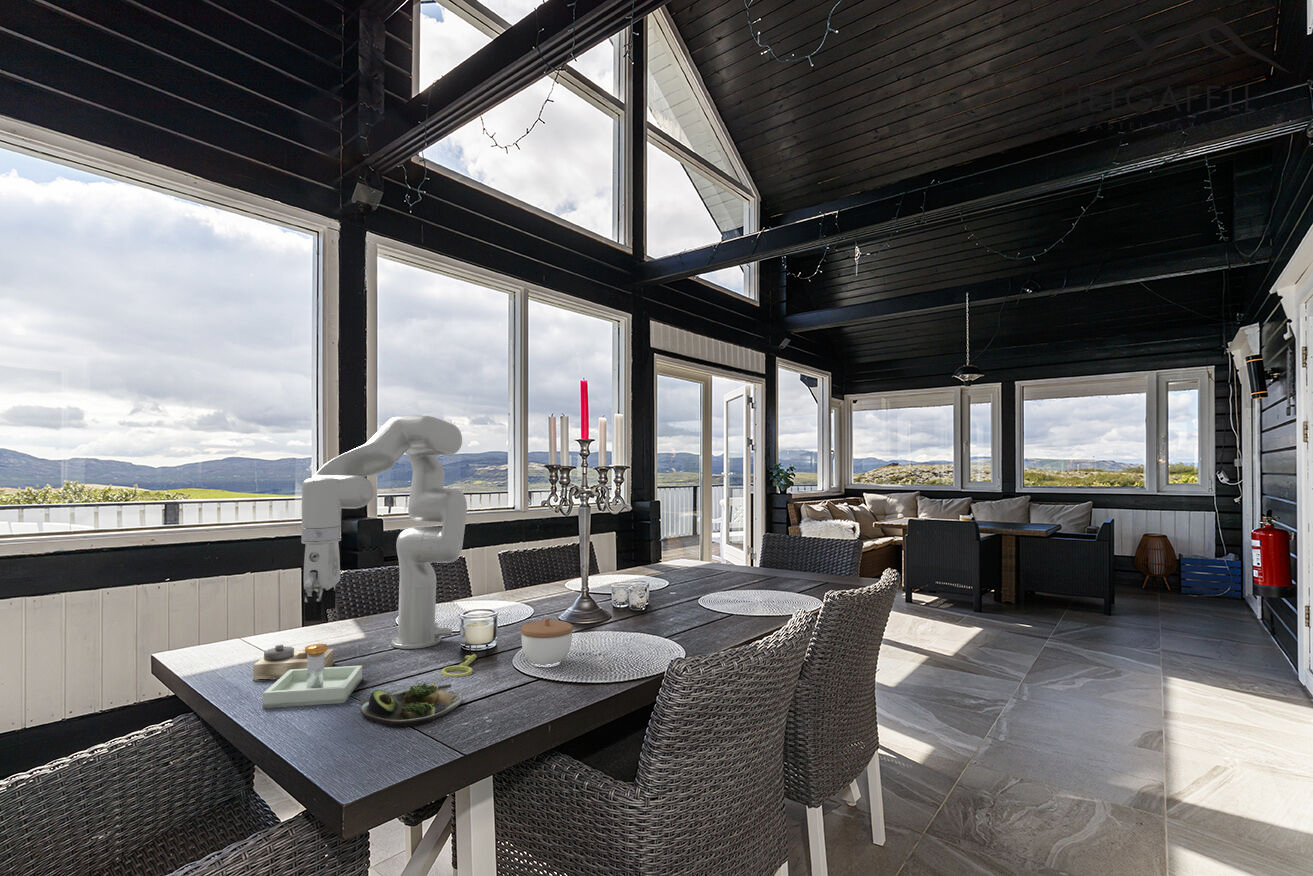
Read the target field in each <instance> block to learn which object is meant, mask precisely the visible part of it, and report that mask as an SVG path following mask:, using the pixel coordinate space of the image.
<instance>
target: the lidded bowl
mask: <svg viewBox="0 0 1313 876" xmlns="http://www.w3.org/2000/svg"><path fill="white" fill-rule="evenodd" d="M520 634H521V635H520V636H521V639H520V640H521V649H522V651H523V655H524V656H525V659H526V660H528V661H529V663H531V664H532V663H533V664H540V665H546V664H553V663H557V662H560V661H562V660H563V661H564V660H565V659H566V658H567V656H568V654H569V652H570V650H571V646H572V640H573V624H572V623H571V622H568V621H563V620H554V619H552V620H551V619H550V617H544V620H536V621H531V622H530V621H529V622H528V623H525V624H523V625H522V626H521V627H520ZM563 661H562V662H563Z"/></svg>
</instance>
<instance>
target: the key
mask: <svg viewBox="0 0 1313 876" xmlns="http://www.w3.org/2000/svg"><path fill="white" fill-rule="evenodd" d="M464 659H465V661H464V662H461V663H460V664H459V665H450V666H446V667H444V668H443V669H442V668H441V669H442V670H441V673H440V674H441V675H442V676H445V677H455V678H458V677H468V676H471V675H472V674H473V672H474V671H473V668H472V667H470V666H469V665H470V664H471V663H473V662H474V661H475V660H476V659H477V654H476V653H474V654H472V655H468V654H467V655H465V656H464ZM455 671H457V672H460V673H451V672H455ZM449 672H450V673H449ZM461 672H462V673H461Z"/></svg>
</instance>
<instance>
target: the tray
mask: <svg viewBox="0 0 1313 876" xmlns="http://www.w3.org/2000/svg"><path fill="white" fill-rule="evenodd" d="M362 680H363V665H349V666H348V665H347V666H330V667H326V668H324V686H323V688H309V689H306V684H307V669H290V670H289V671H287V672H286V673H285V674H284V675H283V676H282V677H281V678H280V679H276V681H275V682H274V683H273V684H271V685H270V686H269V687H268V688H267V689H266V690H265V691H264V692H262V709H271V708H287V707H288V708H291V707H302V706H303V707H304V706H318V705H330V704H344V703H345V702H346V701H347V700H348V699H349V697H350V696H351V695H352V693H353V692H354V690H355V689H356V688H357V686H358V685H359V684H360V683H361V681H362Z"/></svg>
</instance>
